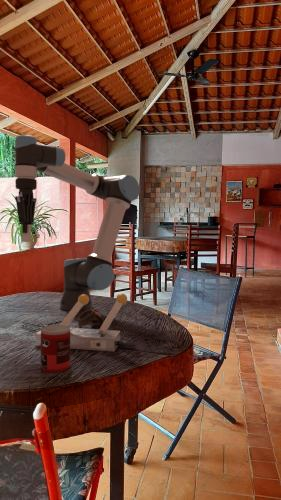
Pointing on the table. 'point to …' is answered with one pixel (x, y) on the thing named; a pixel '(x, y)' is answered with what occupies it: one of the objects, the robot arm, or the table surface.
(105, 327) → the toggle
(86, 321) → the pottery mug
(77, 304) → the toggle
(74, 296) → the robot arm
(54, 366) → the canned food
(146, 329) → the table surface
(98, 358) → the table surface
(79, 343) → the switch box
